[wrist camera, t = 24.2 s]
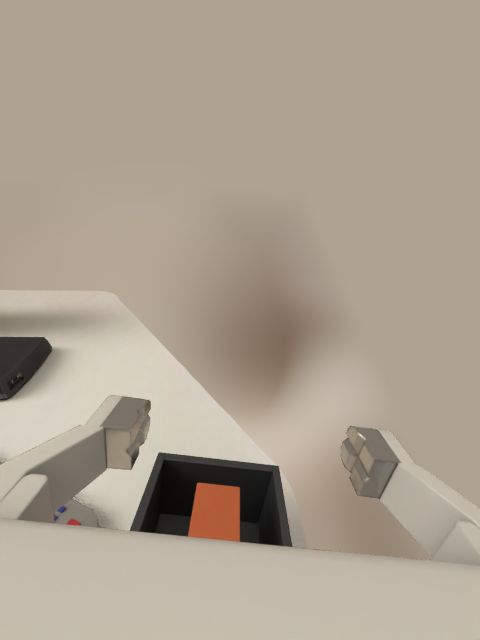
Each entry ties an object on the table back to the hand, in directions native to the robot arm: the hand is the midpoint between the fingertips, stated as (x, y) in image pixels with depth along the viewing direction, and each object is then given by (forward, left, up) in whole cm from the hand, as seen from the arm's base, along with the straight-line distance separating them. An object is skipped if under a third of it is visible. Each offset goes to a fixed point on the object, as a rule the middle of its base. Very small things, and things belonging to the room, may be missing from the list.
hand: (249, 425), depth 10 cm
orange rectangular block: (0, -5, -26) cm, 26 cm away
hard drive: (+46, -34, -27) cm, 63 cm away
